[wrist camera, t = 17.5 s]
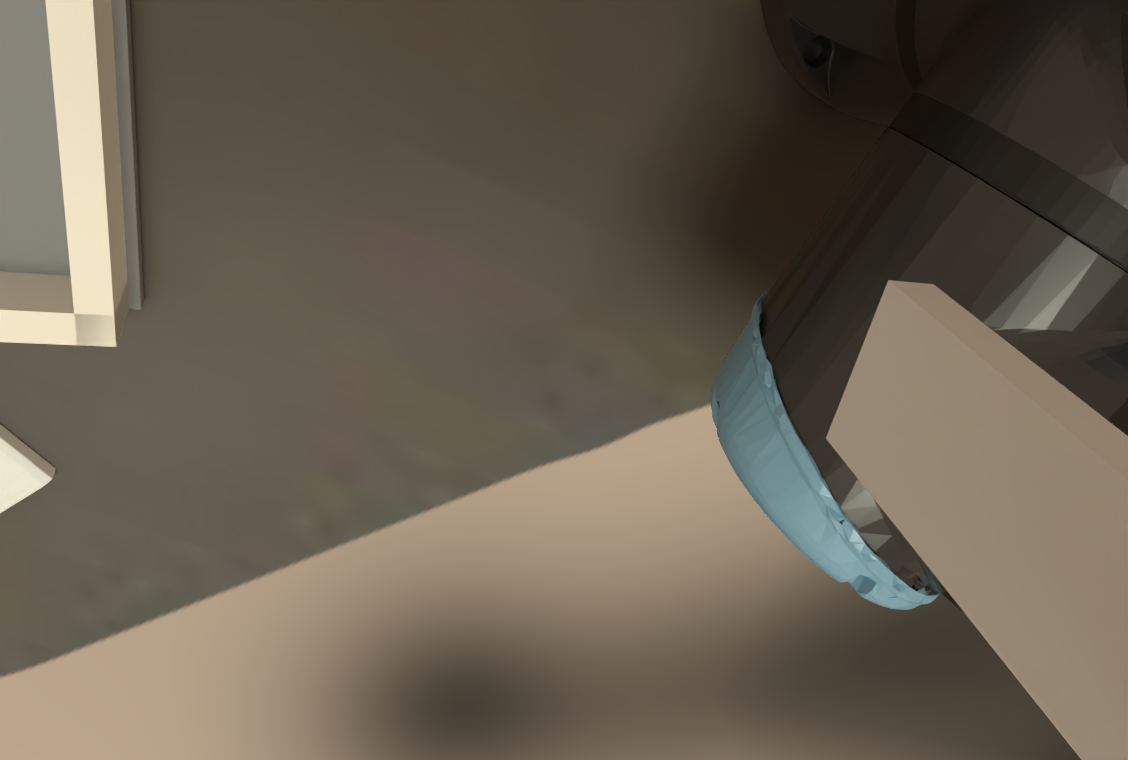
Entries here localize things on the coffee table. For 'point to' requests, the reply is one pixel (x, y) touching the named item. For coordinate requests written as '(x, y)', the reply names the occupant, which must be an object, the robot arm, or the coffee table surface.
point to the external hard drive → (20, 470)
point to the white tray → (68, 173)
